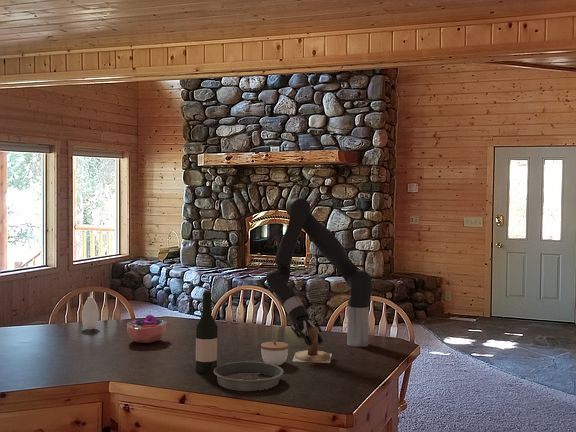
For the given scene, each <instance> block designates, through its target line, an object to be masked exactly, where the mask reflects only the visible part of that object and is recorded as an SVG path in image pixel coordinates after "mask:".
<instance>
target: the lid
mask: <svg viewBox="0 0 576 432" xmlns="http://www.w3.org/2000/svg"><path fill="white" fill-rule="evenodd" d="M307 336H309V338H310V340H311V341H312V345H311V346H308V345H307V350H299V351H295V353H294V355H295V358H296V359H298V360H302V361H308V362H307V363H318V362H321V361H326V360H329V359H330V354H331V353H328V352H326V351H322V350H318V347H319V343H318V328H317V327H308V331H307Z"/></svg>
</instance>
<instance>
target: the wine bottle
mask: <svg viewBox="0 0 576 432" xmlns="http://www.w3.org/2000/svg"><path fill="white" fill-rule="evenodd" d="M212 293H213V292H212V291H211V289H204V290H203V292H202V315H201V317H200V318H199V320H198V322H196V323H197V324H196V325H195V373H199V372H200V373H199V374H212V372H213V373H214V369H215V368H216V367H218V324H217V323H216V321H215V319H214V317H213V314H212V301H213V298H212Z"/></svg>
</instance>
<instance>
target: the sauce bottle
mask: <svg viewBox="0 0 576 432" xmlns="http://www.w3.org/2000/svg"><path fill="white" fill-rule="evenodd" d="M99 318H100V310H99V307H98V304H97V302H96V300H95V299H94V297H93V296H92V291H90V292H89V296H88V297H87V299H86V301H85V303H84V304H83V307H82V310H81V321H82V322H81V323H82V324H83V325H82V326H84V328H85V329H87V330H90V331H91V330H93V329H95V327H97V325H98V324H99Z"/></svg>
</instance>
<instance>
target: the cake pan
mask: <svg viewBox="0 0 576 432" xmlns="http://www.w3.org/2000/svg"><path fill="white" fill-rule="evenodd" d="M238 373H260V374H266V375H270V376H273V377H270V376H269V377H268V378H260V379H257V380H243V379H233V378H228V377H225V376H228V375H233V374H238ZM213 374H214V375H215V376H216V379H217V383H218V385H219V386H220V387H222V388H225V389H227V390H231V391H240V392H258V391H257V390H259V391H265V390H269V388H270V389H272V387H273V388H274V386H275V387H276V386H278V384H279V382H280V378H281V376H283V375H284V369H283V368H282V367H280V366H279V365H273V364H269V363H265V362H264V361H263V362H262V361H250V360H249V361H234V362H233V361H232V362H227V363H222V364H220V365H217V367H216V368H215V369H214V372H213ZM266 375H265V376H266ZM264 389H265V390H264Z"/></svg>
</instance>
